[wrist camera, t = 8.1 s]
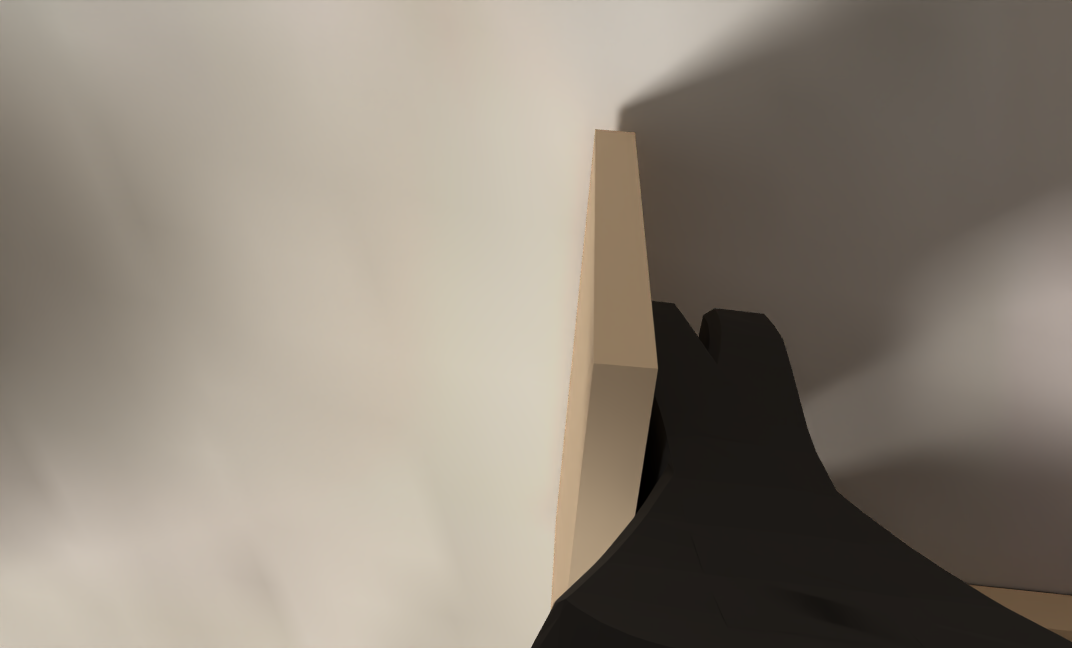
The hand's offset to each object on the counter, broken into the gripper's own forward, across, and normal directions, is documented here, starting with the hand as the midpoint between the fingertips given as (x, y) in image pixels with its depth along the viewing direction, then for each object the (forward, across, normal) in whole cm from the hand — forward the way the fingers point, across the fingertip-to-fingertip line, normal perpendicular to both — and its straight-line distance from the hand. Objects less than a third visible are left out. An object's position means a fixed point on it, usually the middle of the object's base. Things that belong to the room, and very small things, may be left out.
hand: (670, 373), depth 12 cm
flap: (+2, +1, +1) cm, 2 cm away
